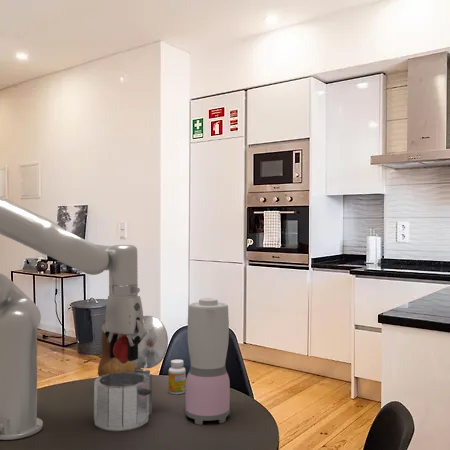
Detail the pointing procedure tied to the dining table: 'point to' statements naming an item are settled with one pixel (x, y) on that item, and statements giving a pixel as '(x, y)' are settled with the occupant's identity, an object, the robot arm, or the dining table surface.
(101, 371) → the butternut squash
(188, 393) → the blender
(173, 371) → the supplement bottle
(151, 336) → the lid
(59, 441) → the dining table surface
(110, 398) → the pot
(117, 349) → the red pomegranate
